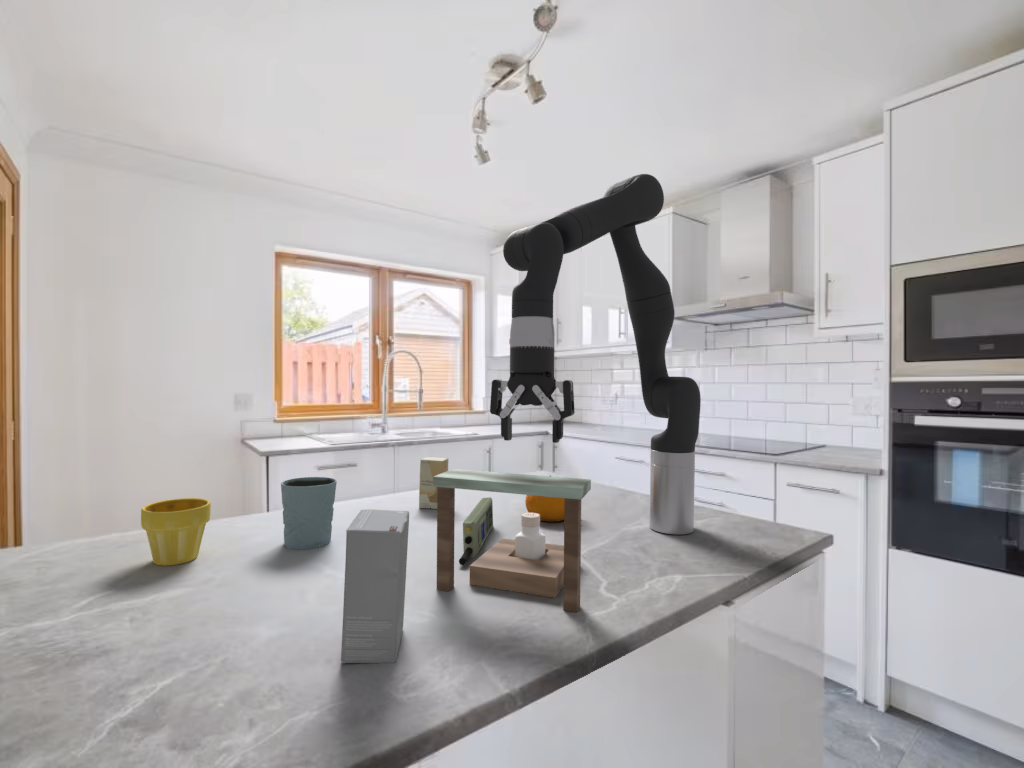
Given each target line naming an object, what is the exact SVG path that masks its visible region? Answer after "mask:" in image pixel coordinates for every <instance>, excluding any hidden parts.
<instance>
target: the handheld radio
mask: <svg viewBox="0 0 1024 768" xmlns="http://www.w3.org/2000/svg"><path fill="white" fill-rule="evenodd" d="M493 516H494V510H493V498H492V497H491V496H490V497H482V498H481V499H480V500H479V501H478V502H477V504H476V505H475V507H474V508H473V510H472V511H471V512H470V513H469V514H468V516H467V517H466V518H465V519H464V520H463V522H462V537H463V538H462V541H463V542H462V543H463V554H462V555H461V556H460V558H459V560H458V564H459V565H460V566H465V565H466V564H467V562H468V560H469V559H470V557H473V556H474V557H477V555H479V552H480V550H481V548H482V546H483V545H484V543H485V541H486V539H487V538H488V536H489V535H490V533H491V530H492V529H493V527H494V517H493Z"/></svg>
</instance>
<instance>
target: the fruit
mask: <svg viewBox="0 0 1024 768" xmlns="http://www.w3.org/2000/svg"><path fill="white" fill-rule="evenodd" d="M564 503H565V498H557V497H546V496H535V495H526V496H525V508H526V510H527V513H537V514H539V515H540V522H542V521H543V522H561V521H564Z"/></svg>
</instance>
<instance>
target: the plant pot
mask: <svg viewBox="0 0 1024 768" xmlns="http://www.w3.org/2000/svg"><path fill="white" fill-rule="evenodd" d="M211 507H212V505H211V501H210V500H209V499H207V498H200V497H182V498H172V499H165V500H160V501H155V502H151V503H148V504H145V505H144V506H143V507H141V510H140V525H141V528H142V530H144V531H145V532H146V533H145V534H146V536H147V541H148V545H149V548H150V552H151V557H152V558H151V559H152V561H153V562H152V563H153V564H155V565H156V566H177V565H181V564H186V563H189V562H192V561H193V560H195V559H197V557H198V556H199V552H200V548H201V545H202V539H203V536H204V533H205V528H206V525H207V524H206V523H208V522H210V519H211V512H212V511H211V510H212V509H211Z"/></svg>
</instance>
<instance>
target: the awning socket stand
mask: <svg viewBox="0 0 1024 768" xmlns="http://www.w3.org/2000/svg"><path fill="white" fill-rule="evenodd" d="M591 484H592V480H591V478H590V479H589V478H576V477H575V478H574V477H560V476H552V475H536V474H535V475H534V474H523V473H522V474H521V473H510V472H498V471H497V472H496V471H486V470H485V471H484V470H471V469H469V470H468V469H458V468H452V469H450V470H449V469H448V471H447V472H444V473H441V474H439V475H436V476H433V486H434V487H437V509H436V511H437V512H436V516H437V517H436V590H437V589H439V590H438V591H443V590H445V592H449V591H451V590H452V589H453V588H454V587H455V516H456V515H455V514H456V513H455V512H456V511H455V509H456V508H455V506H456V505H455V504H456V503H455V501H456V498H455V497H456V493H455V492H456V489H459V490H470V491H480V492H491V493H492V492H493V493H503V494H515V495H524V496H525V495H535V496H546V497H557V498H565V503H564V520H563V523H564V524H563V525H564V526H563V545H561V544H554V543H546V542H545V555H544V557H543V558H542V559H541V560H533V559H526V558H518V557H515V539H512V538H503V537H502V538H500V539H499V540H498V541H497V542H496V543H495V544H493V545H492V546H491V547H490V548H489V549H488V550H487V551H485V552H484V553H483V554H482V555H480V556H479V557H478V558H477V559H476V560H475V561H474V562H472V563H471V564H470V565H469V586H470V585H472V586H476V585H477V587H482V586H483V588H489V587H492V588H491V589H495V588H496V590H504V591H508V590H509V592H516V593H521V592H522V594H527V593H528V595H535V596H541V597H549V598H557V596H558V595H559V594H560V592H561V590H562V588H563V592H562V593H563V594H562V595H563V601H562V603H563V604H562V606H563V607H562V608H563V609H562V610H563V611H568V612H573V613H578V612H579V609H580V607H581V567H582V566H581V560H582V558H581V557H582V554H581V553H582V551H581V550H582V500H583V499H584V498H585V496H586V495H587V494H588V493H589V492H590V491H591V490H592V489H591V487H592V485H591ZM484 586H485V587H484ZM452 587H453V588H452Z"/></svg>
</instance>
